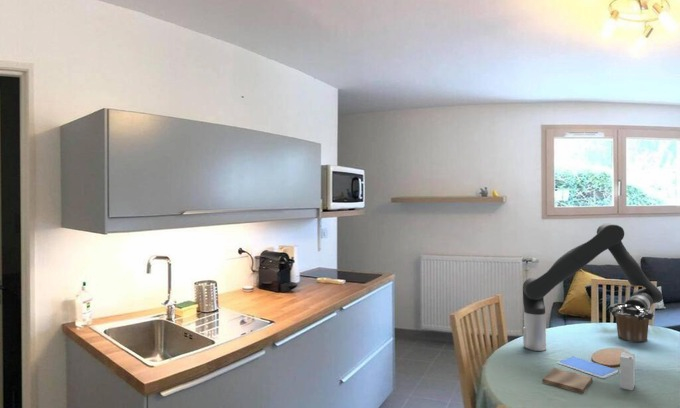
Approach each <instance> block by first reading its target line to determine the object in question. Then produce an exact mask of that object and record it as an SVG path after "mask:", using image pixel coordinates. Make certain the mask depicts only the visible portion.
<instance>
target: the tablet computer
mask: <svg viewBox="0 0 680 408" xmlns="http://www.w3.org/2000/svg"><path fill="white" fill-rule="evenodd" d="M556 364H558V365H561V366H564V367H567V368H570V369H573V370H575V371H578V372H581V373H585V374H587V375H590V376H592V377H593V376H594V377H596V378H599V379H602V380H604V379H606V378H609V377H611V376H613V375H615V374H618V372H619V370H618V369H615V368H612V367H610V366H606V365H603V364H600V363H596V362H593V361H589V360H586V359H583V358H580V357H576V356H574V355H573V356H570V357H567V358H565V359H561V360H558V361H556Z"/></svg>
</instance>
